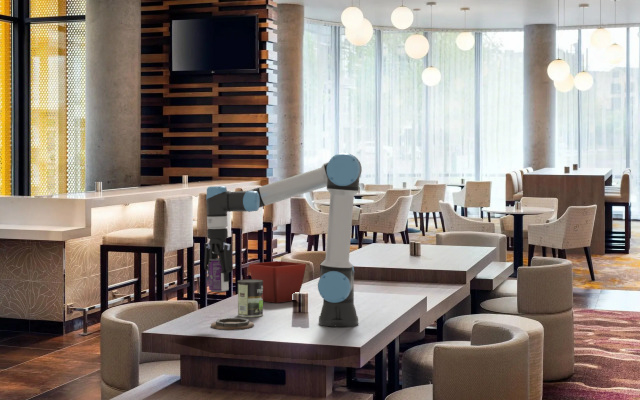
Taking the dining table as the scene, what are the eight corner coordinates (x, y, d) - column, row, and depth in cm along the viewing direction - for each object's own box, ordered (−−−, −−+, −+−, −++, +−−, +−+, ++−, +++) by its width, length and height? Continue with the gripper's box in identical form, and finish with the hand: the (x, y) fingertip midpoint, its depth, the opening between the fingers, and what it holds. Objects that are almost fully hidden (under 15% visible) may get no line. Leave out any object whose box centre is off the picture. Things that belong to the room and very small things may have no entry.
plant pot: (247, 300, 378) (247, 263, 378) (280, 296, 391) (280, 260, 391) (274, 305, 364) (274, 266, 364) (307, 301, 377) (307, 263, 377)
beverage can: (218, 289, 314) (218, 257, 314) (232, 290, 310) (231, 258, 309) (205, 291, 308) (204, 259, 308) (218, 292, 304) (217, 260, 304)
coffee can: (266, 313, 341) (266, 279, 341) (259, 317, 331) (259, 282, 331) (241, 312, 343) (241, 278, 343) (234, 317, 333) (234, 281, 333)
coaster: (262, 326, 312) (262, 321, 312) (227, 331, 301) (227, 326, 301) (236, 320, 324) (236, 315, 324) (202, 325, 313) (202, 320, 313)
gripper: (193, 227, 313) (194, 288, 314) (225, 229, 299) (227, 293, 299) (209, 226, 318) (211, 286, 319) (242, 228, 304) (243, 290, 304)
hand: (218, 289), depth 309 cm, fingers closed on beverage can, 7 cm apart
